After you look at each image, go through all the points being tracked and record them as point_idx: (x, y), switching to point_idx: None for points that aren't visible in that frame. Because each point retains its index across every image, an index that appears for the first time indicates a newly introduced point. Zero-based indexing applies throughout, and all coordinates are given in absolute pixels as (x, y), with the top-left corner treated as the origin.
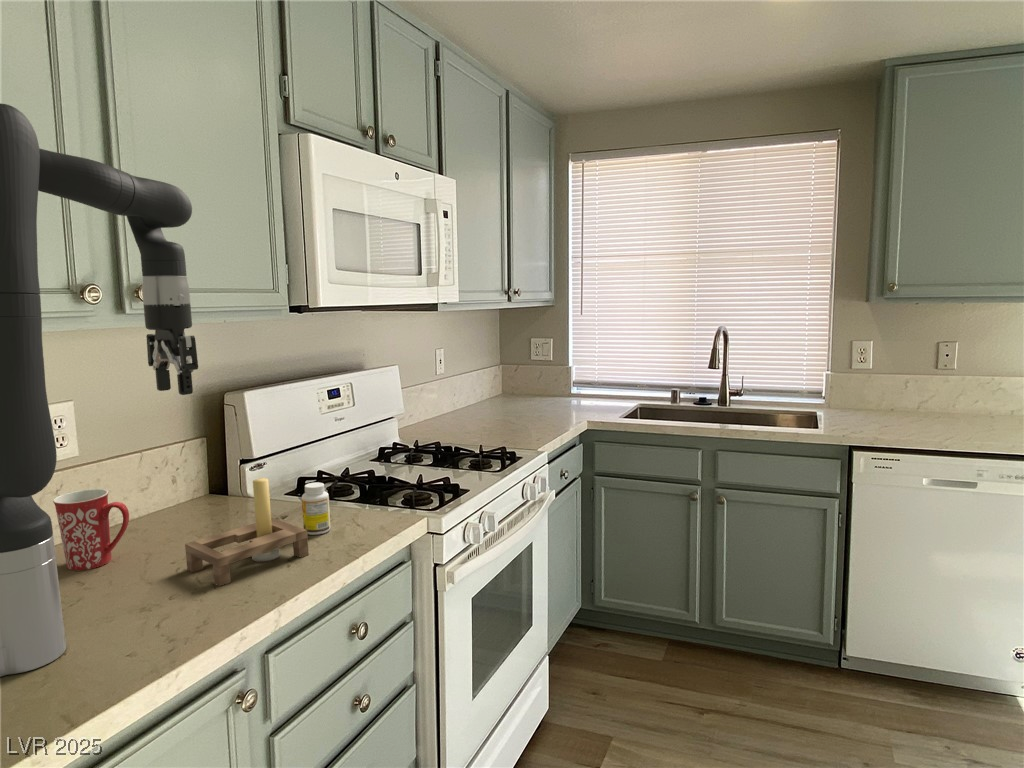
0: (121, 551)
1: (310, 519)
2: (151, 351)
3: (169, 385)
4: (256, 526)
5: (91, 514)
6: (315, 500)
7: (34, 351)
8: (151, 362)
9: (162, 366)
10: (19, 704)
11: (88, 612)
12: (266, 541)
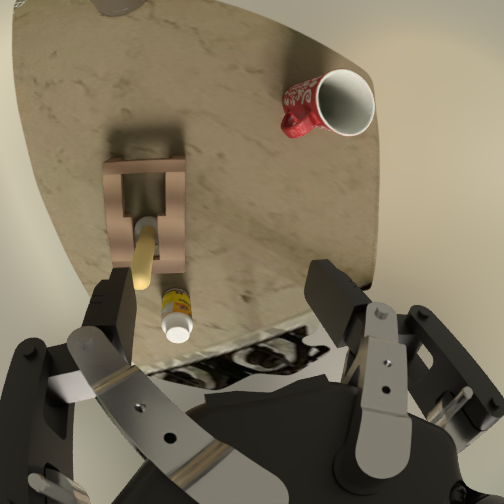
0: (307, 141)
1: (168, 300)
2: (443, 361)
3: (310, 302)
4: (146, 238)
5: (308, 95)
6: (163, 318)
7: None
8: (414, 321)
9: (359, 341)
10: None
11: (167, 45)
12: (112, 228)
